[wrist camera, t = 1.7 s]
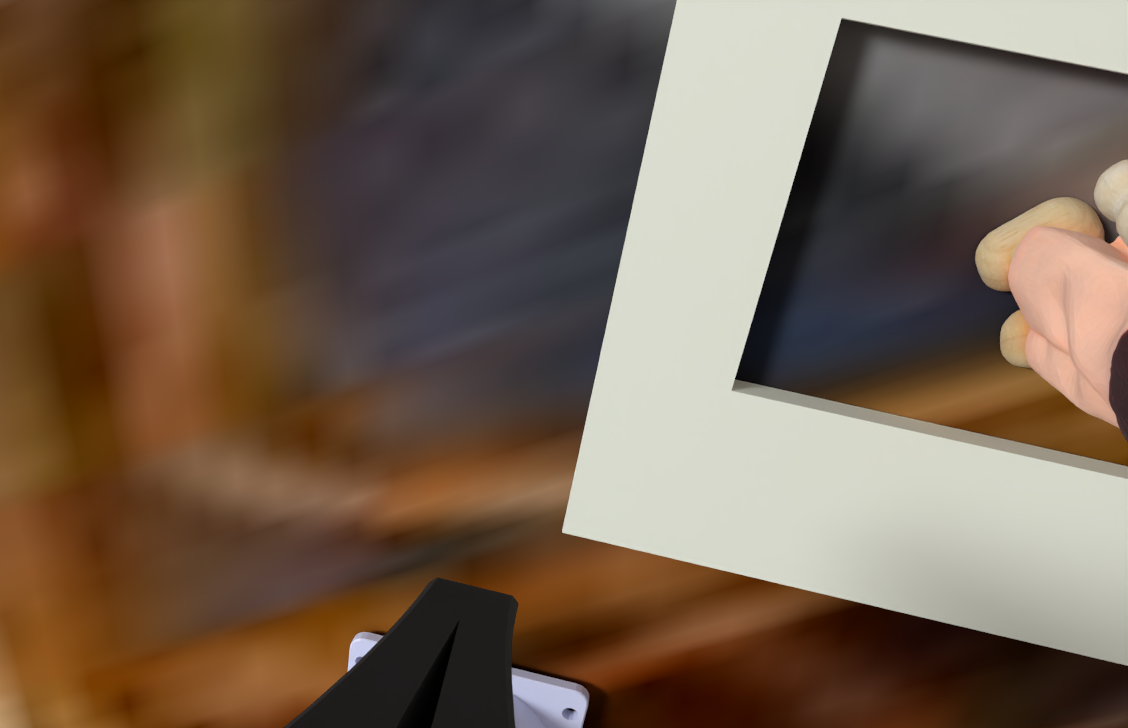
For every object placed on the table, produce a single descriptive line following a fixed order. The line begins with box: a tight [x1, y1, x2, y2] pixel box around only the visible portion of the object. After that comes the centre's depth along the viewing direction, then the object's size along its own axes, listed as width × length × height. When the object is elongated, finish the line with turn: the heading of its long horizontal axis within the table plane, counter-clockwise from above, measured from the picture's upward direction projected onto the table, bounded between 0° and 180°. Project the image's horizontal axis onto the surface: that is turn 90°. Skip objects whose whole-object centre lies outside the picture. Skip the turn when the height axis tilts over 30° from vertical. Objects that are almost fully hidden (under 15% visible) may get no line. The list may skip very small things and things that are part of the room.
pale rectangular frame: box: [562, 0, 1128, 666], centre depth 20 cm, size 18×20×1 cm
